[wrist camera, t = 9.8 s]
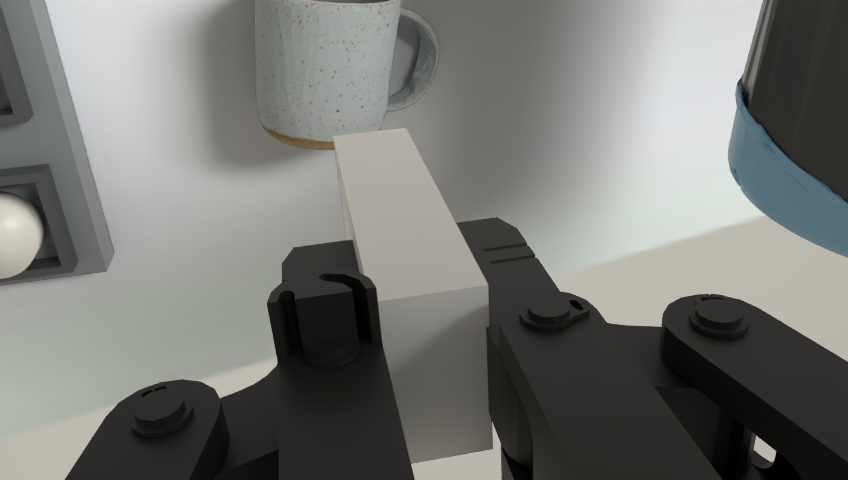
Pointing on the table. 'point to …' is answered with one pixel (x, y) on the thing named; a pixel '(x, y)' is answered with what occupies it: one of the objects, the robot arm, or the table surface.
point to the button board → (46, 148)
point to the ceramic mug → (332, 67)
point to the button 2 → (18, 234)
